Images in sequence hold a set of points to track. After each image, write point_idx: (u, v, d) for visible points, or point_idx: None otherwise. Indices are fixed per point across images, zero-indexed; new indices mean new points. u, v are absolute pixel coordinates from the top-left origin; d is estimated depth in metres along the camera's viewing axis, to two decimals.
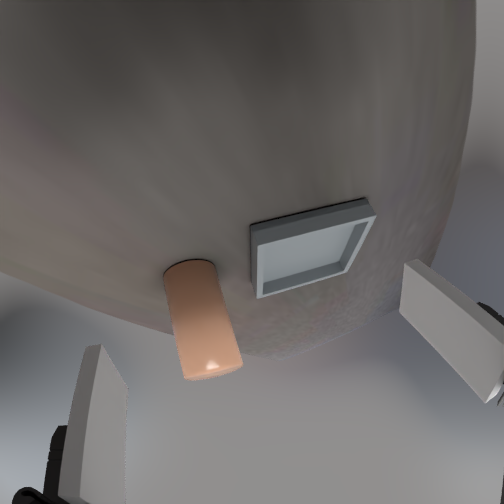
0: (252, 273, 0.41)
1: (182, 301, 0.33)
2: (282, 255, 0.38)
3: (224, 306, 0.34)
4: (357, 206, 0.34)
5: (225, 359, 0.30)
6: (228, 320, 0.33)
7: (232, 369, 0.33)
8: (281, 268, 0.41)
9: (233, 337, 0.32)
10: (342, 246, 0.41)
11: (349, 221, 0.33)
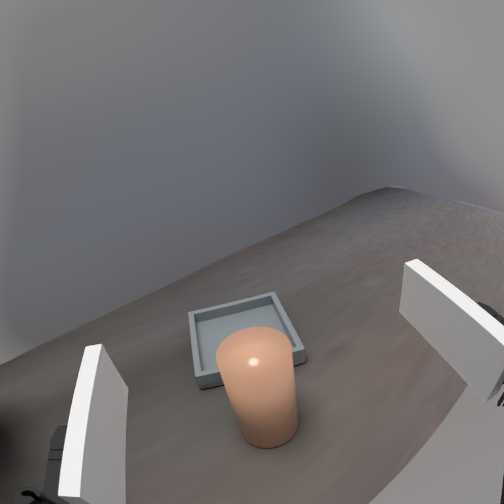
0: None
1: (237, 418, 0.28)
2: None
3: None
4: None
5: None
6: None
7: (261, 333, 0.28)
8: None
9: None
10: (246, 313, 0.49)
11: None
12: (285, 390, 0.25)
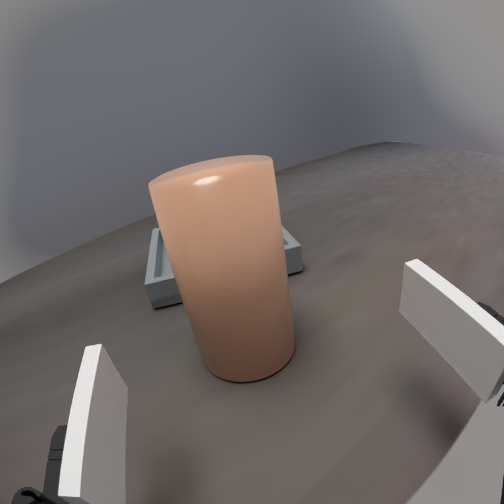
0: None
1: (189, 317, 0.18)
2: None
3: None
4: None
5: None
6: None
7: (225, 159, 0.18)
8: None
9: None
10: None
11: (151, 240, 0.35)
12: (265, 234, 0.15)
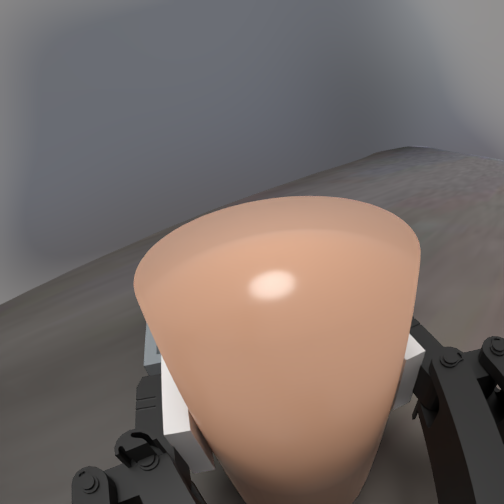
0: None
1: (225, 471, 0.09)
2: None
3: None
4: None
5: None
6: None
7: (292, 206, 0.09)
8: None
9: None
10: None
11: None
12: (392, 388, 0.06)
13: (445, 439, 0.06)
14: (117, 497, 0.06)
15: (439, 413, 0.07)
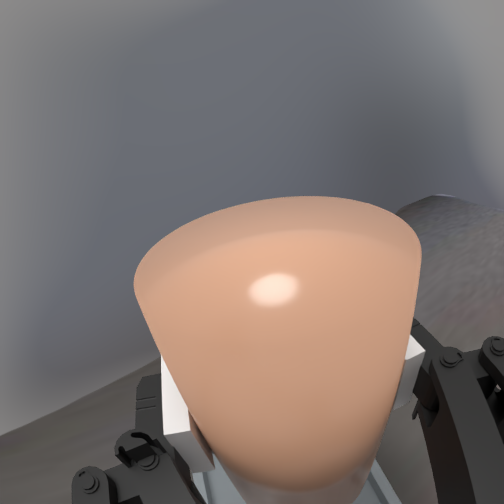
0: None
1: (225, 472, 0.09)
2: None
3: None
4: None
5: None
6: None
7: (293, 206, 0.09)
8: None
9: None
10: None
11: (193, 476, 0.20)
12: (393, 388, 0.06)
13: (445, 439, 0.06)
14: (117, 497, 0.06)
15: (439, 413, 0.07)
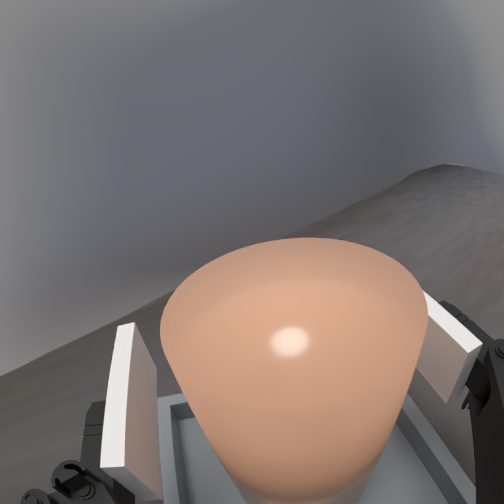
0: None
1: (236, 487, 0.10)
2: None
3: None
4: None
5: None
6: None
7: (307, 251, 0.09)
8: (381, 499, 0.11)
9: None
10: None
11: (159, 444, 0.14)
12: (392, 425, 0.07)
13: (492, 425, 0.06)
14: None
15: (489, 400, 0.07)
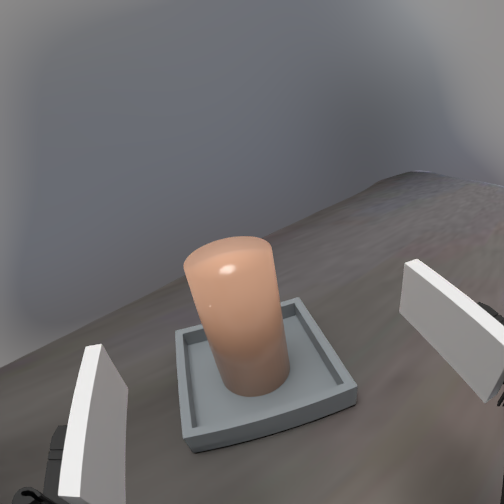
0: (309, 417, 0.22)
1: (214, 354, 0.25)
2: (260, 396, 0.25)
3: None
4: None
5: None
6: None
7: (237, 241, 0.25)
8: (298, 382, 0.26)
9: None
10: None
11: (176, 353, 0.29)
12: (267, 303, 0.22)
13: None
14: None
15: None
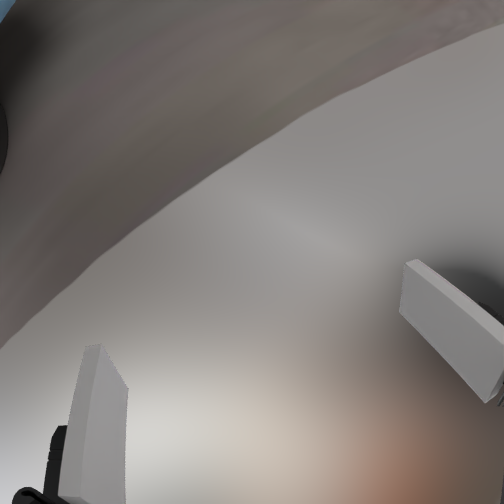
0: None
1: None
2: None
3: None
4: None
5: None
6: None
7: None
8: None
9: None
10: None
11: None
12: None
13: None
14: None
15: None
